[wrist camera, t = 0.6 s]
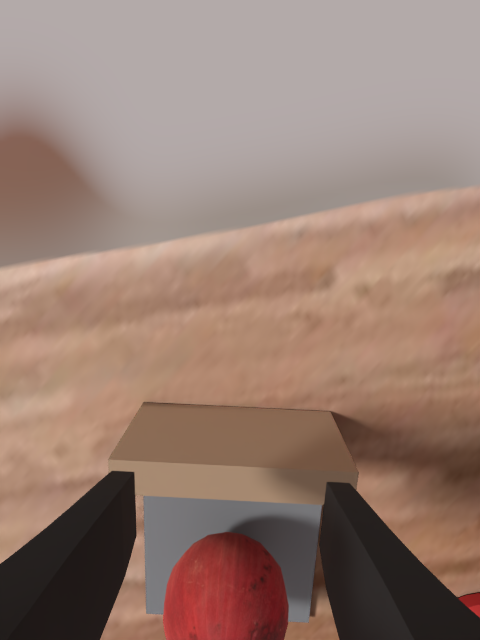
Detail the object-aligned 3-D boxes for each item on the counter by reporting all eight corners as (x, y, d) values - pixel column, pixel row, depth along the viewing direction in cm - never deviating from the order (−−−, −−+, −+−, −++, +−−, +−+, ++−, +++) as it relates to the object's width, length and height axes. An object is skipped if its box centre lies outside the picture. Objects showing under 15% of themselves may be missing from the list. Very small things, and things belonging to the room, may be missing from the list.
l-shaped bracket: (307, 615, 22) (324, 722, 17) (148, 606, 22) (120, 710, 18) (330, 411, 19) (358, 472, 14) (143, 402, 19) (108, 459, 14)
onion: (271, 489, 20) (284, 652, 12) (289, 572, 21) (311, 770, 13) (169, 504, 20) (118, 672, 12) (193, 585, 21) (160, 785, 14)
